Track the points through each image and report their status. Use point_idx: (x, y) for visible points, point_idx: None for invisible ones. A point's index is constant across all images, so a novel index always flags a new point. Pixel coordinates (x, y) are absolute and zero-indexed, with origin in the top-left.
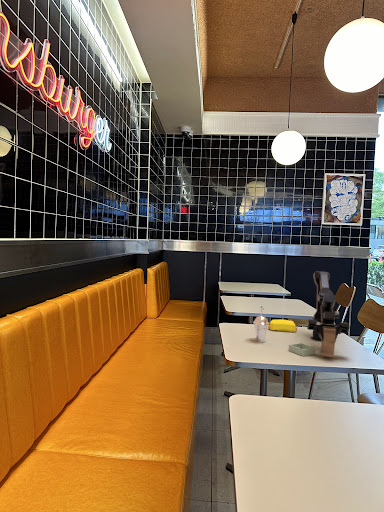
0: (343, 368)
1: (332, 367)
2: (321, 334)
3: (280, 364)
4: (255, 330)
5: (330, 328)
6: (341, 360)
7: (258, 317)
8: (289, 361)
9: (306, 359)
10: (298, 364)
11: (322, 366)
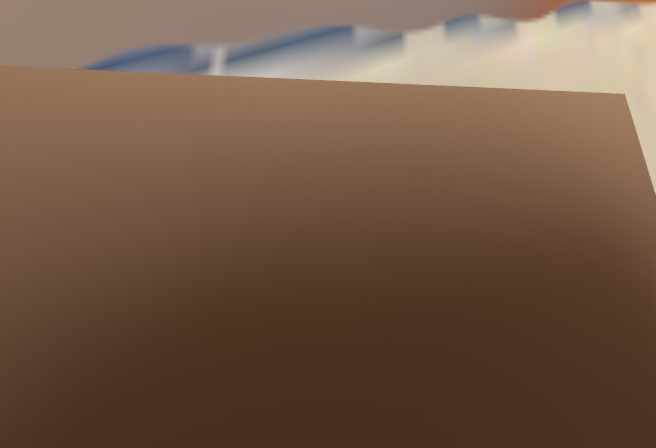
0: (107, 60)
1: (225, 55)
2: None
3: (623, 5)
4: None
5: (329, 309)
6: None
7: None
8: (588, 90)
9: None
10: (514, 42)
11: (320, 54)
